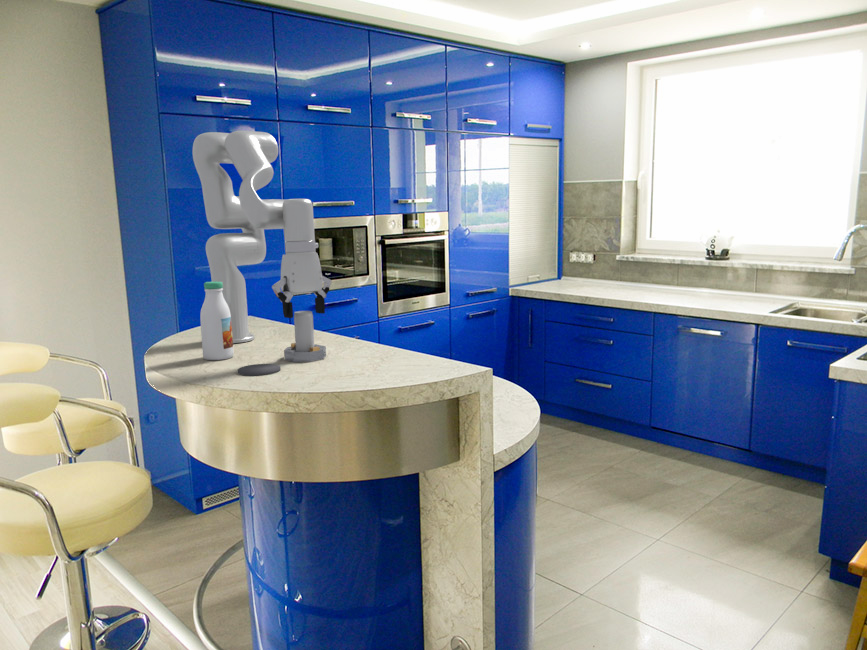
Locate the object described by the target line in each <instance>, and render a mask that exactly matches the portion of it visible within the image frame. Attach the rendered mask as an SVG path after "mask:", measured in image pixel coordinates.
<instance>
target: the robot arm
mask: <svg viewBox="0 0 867 650" xmlns="http://www.w3.org/2000/svg"><path fill="white" fill-rule="evenodd" d="M191 153H192V161H193V163H194V167H195V169H196V173H197V174H198V177H199V180H200V183H201V184H200V185H201V189H202V196H203V203H204V209H205V215H206V221H207V223H208V225H209V226H210V227H211V228H212V229H215V230H216V229H217V230H237V229H239V230H240V229H241V231H242V232H227V233H218V234H214V235H212V236H210V237H209V238H207V241H206V243H205V253H206V257H207V262H208V266H209V272H210V277H211V282H215V281H219V282H222V283H223V290H222V294H223V297H224V299H225V301H226V303H227V305H228V307H229V310H230V314H231V324H232V337H233V344H240V343H241V344H242V343H246V342H249V341H253V340H254V339H255V334H254V333H252V332H251V333H250V331H249V317H248V299H247V288H246V287H247V286H246V280H245V279H246V278H245V276H244V275H243V274H242V272H241V271H240V270H239V268H238V266H251V265H257V264H261V263H262V262H264V260H265V258H266V255H267V243H266V242H267V241H266V237H265V235H266V234H265V230H278V229H279V230H283V235H284V250H285V254H282V257H281V264H280V280H278V281H277V282H275V283H274V284H273V285H271V289H272V290H273V293H274V294H275V297H277V299H278V300H279V301H280V302H281V303H282V313H283V316H284V318H286V319H292V318H293V319H294V311H293V302H291V300H292V298H293V296H294V295H299V294H300V295H301V294H308V293H313V294H314V295H315V297H314V305H315V308H314V309H315V313H317V314H325V313H326V312H325V309H326V305H325V304H326V303H325V302H326V301H325V299H326V298H327V295H328V293H329V291H330V288H331V285H332V282H333V281H332V279H330V278H327V277H326V276H324V275H323V273H322V266H321V261H320V258H319V255H318V252H316V249H318V248H319V242H316V238H315V237H316V236H315V234H316V233H315V222H314V220H315V217H314V204H313V202H312V200H311V199H309V198H289V199H279V198H277V199H276V198H275V199H273V198H272V199H270V198H269V199H267V198H266V199H262V198H260V197H259V195H258V194H257V191H258V190H260V189H262V188H264V187H266V186H267V185H269V183H270V182H271V181H272V180H273V177H274V168H273V165H272V164H271V163H273V162H275V161H276V160H277V157H278V156H279V145H278V141H276V138H275V137H274V136H273V135H272V134H270V133H268V132H264V131H254V130H253V131H252V130H234V131H232V132H220V131H219V132H215V131H210V132H204V133H201V134H198V135H197V136H195V138H194V141H193V144H192V152H191ZM220 164H228V165H229V164H232V165H233V166H234V167H235V169H236V171H237V173H238V175H239V176H240V178H241V180H242V181H241V183H240V187H239V190H238V196H236V195H235V192H234V189H233V187H234V186H233V181H232V179H231V177H230V176H229V174H228V172H227V171H226V170H225V169H224V168H223V167H222V166H221V165H220Z"/></svg>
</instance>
